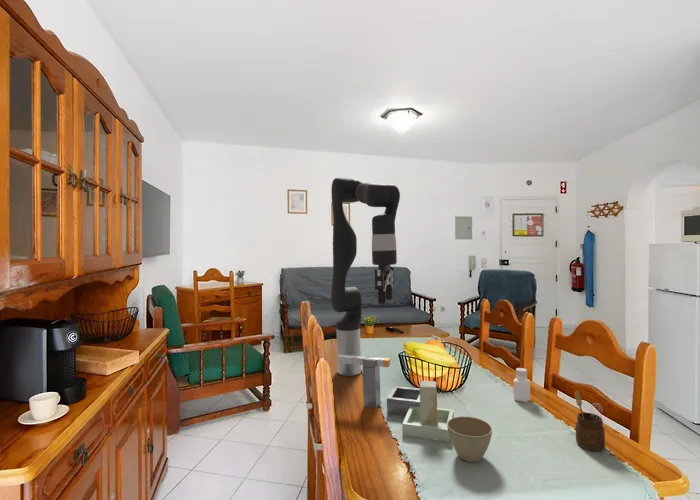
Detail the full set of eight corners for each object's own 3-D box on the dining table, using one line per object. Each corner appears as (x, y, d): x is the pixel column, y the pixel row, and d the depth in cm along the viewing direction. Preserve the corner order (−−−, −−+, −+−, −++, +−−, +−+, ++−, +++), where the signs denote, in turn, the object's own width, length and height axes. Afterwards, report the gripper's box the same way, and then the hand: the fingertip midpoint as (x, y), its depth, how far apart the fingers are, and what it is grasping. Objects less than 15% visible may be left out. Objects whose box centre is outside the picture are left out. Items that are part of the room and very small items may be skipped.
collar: (394, 400, 121) (394, 386, 121) (426, 403, 118) (425, 389, 118) (387, 413, 112) (386, 398, 112) (420, 417, 108) (420, 402, 108)
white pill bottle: (530, 399, 119) (530, 369, 118) (526, 403, 116) (525, 372, 115) (517, 396, 121) (517, 366, 121) (513, 400, 118) (512, 369, 118)
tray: (411, 415, 110) (410, 404, 110) (453, 420, 106) (453, 409, 106) (402, 435, 99) (402, 423, 99) (449, 442, 95) (449, 430, 95)
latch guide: (368, 400, 121) (367, 355, 121) (380, 401, 120) (379, 356, 120) (363, 406, 117) (362, 359, 116) (376, 408, 115) (374, 361, 115)
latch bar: (340, 360, 123) (340, 354, 123) (390, 364, 117) (389, 358, 117) (337, 363, 121) (337, 356, 121) (388, 367, 115) (387, 360, 115)
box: (436, 429, 100) (435, 388, 100) (420, 428, 101) (419, 386, 101) (437, 420, 105) (436, 380, 105) (422, 419, 106) (420, 379, 106)
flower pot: (487, 473, 82) (486, 440, 81) (442, 461, 87) (441, 430, 87) (496, 451, 90) (496, 421, 90) (454, 441, 95) (454, 412, 95)
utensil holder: (594, 454, 87) (593, 403, 87) (569, 442, 93) (568, 393, 93) (611, 448, 90) (610, 398, 90) (585, 436, 96) (584, 389, 95)
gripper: (390, 249, 109) (392, 305, 109) (401, 248, 122) (402, 298, 123) (365, 250, 111) (367, 305, 112) (378, 248, 125) (380, 298, 125)
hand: (385, 301), depth 117 cm, fingers open, 8 cm apart
